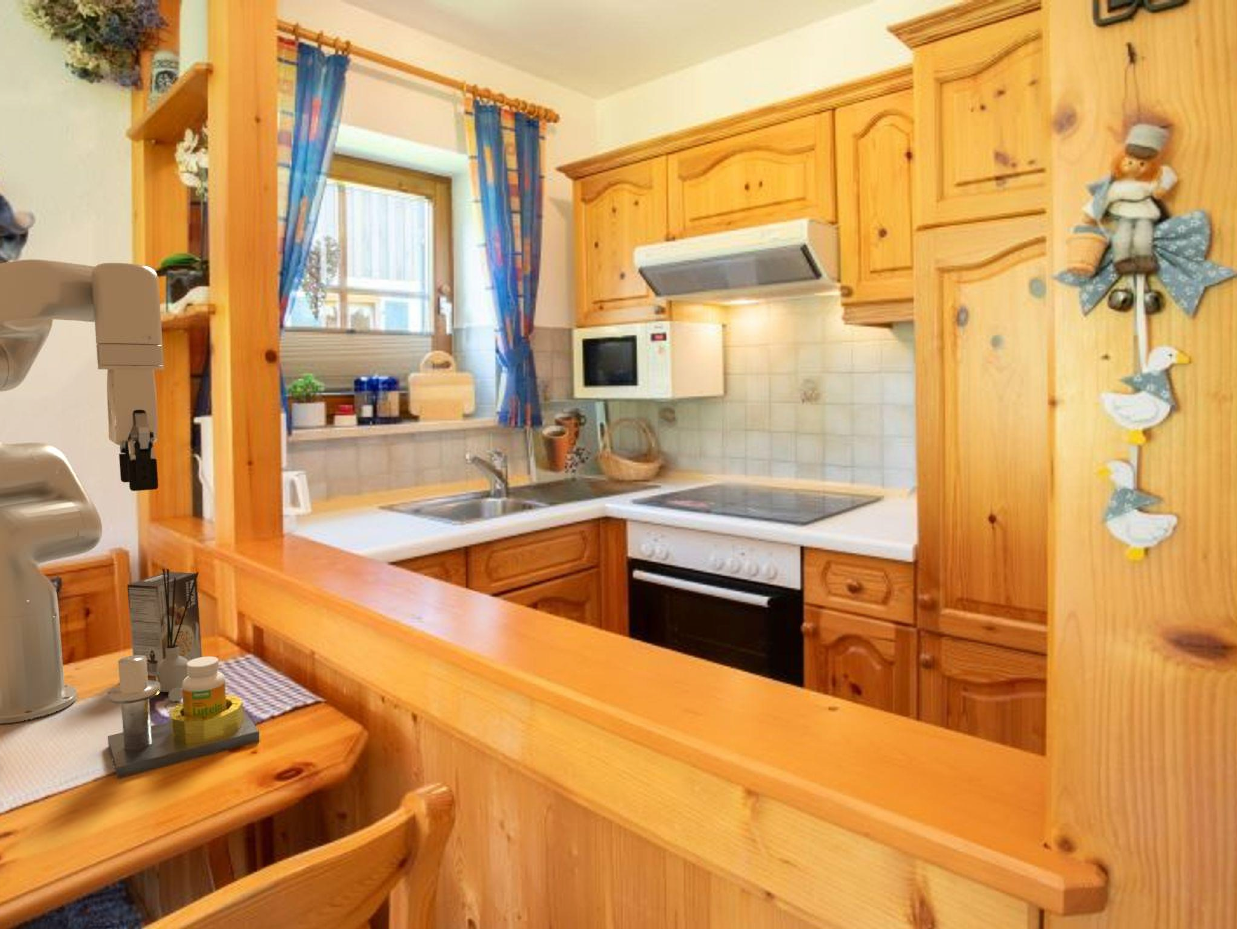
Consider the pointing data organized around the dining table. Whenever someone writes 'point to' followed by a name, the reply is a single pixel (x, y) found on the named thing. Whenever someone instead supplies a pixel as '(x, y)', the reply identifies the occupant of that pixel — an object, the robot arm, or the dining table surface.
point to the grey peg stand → (168, 726)
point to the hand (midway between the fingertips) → (139, 485)
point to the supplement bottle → (203, 688)
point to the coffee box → (164, 618)
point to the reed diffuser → (172, 653)
